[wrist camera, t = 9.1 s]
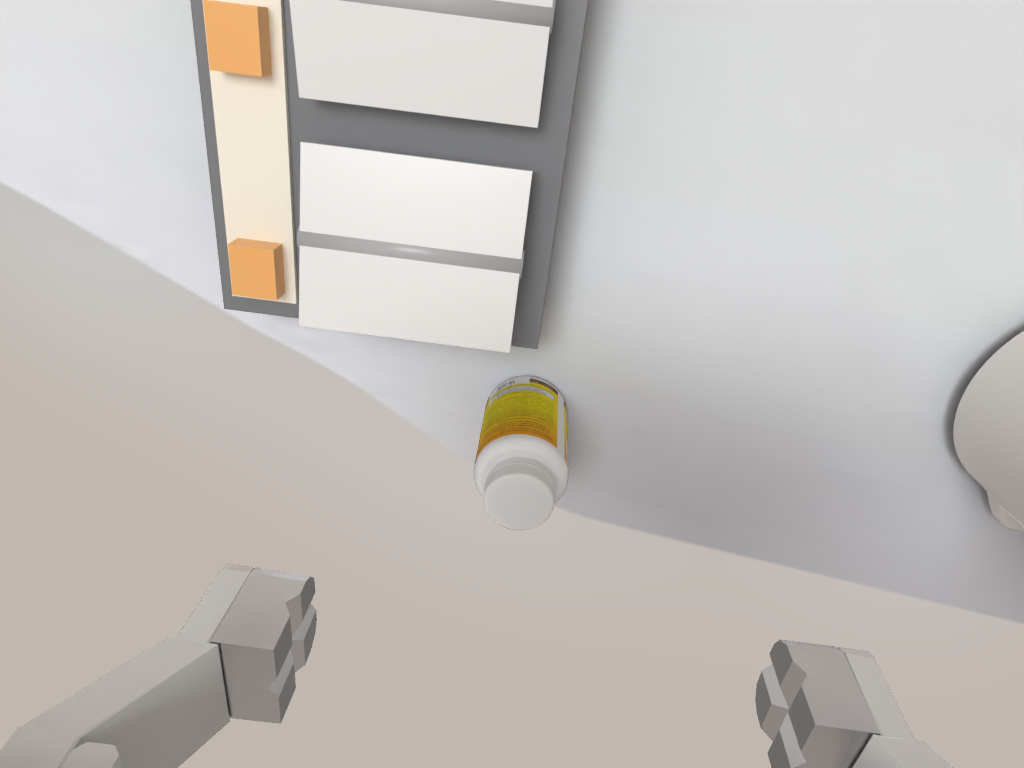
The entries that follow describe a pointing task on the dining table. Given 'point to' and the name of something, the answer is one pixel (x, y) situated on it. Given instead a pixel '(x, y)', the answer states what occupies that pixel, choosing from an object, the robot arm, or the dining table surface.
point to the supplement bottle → (522, 452)
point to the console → (290, 120)
